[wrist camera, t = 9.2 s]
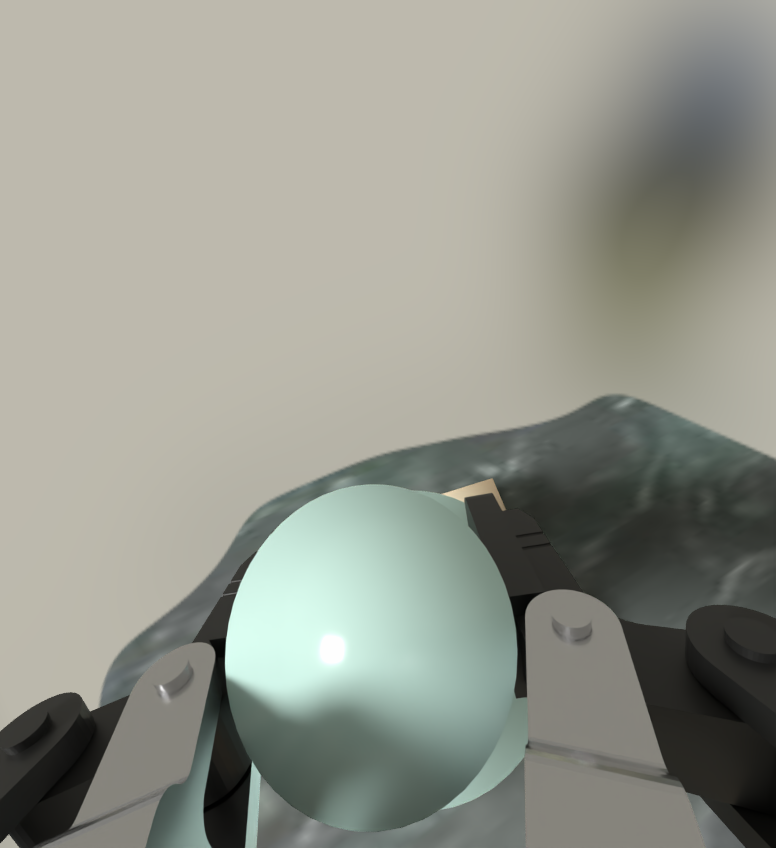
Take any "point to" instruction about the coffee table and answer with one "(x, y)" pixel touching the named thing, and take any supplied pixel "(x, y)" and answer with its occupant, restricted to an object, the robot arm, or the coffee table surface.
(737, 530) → the coffee table surface
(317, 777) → the mint green knob
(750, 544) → the coffee table surface
